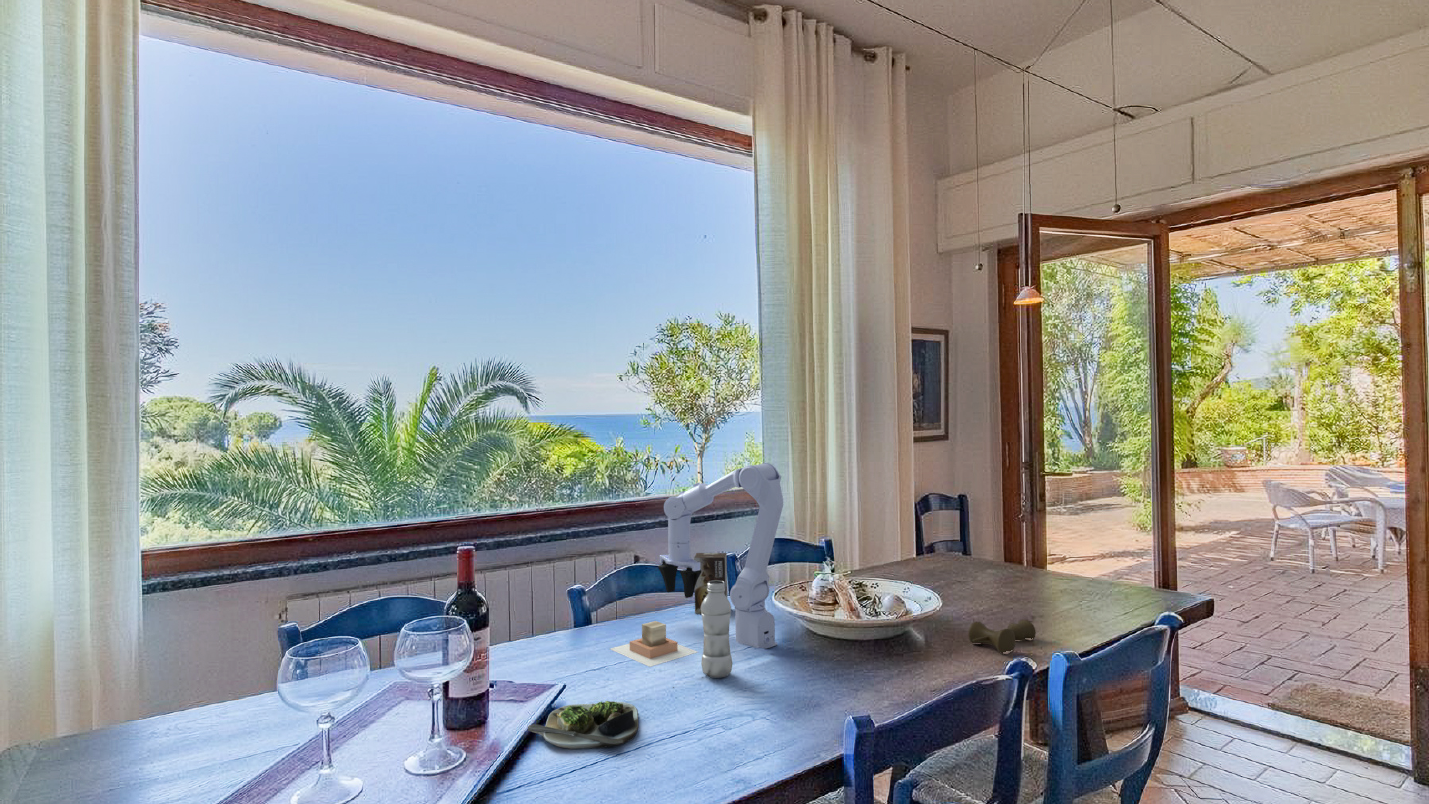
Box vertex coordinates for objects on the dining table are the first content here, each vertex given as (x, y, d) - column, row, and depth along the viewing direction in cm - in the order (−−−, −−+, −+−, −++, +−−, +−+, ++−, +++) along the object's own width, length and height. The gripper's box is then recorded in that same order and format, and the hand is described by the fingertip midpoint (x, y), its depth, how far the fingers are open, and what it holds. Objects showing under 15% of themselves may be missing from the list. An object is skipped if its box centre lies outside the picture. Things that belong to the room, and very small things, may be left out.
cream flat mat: (698, 656, 162) (698, 651, 162) (649, 671, 152) (649, 666, 152) (656, 639, 173) (656, 635, 174) (609, 652, 164) (609, 648, 164)
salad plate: (519, 760, 114) (519, 731, 114) (536, 713, 132) (535, 689, 132) (638, 753, 116) (638, 725, 116) (638, 708, 134) (638, 684, 134)
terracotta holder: (677, 650, 163) (677, 641, 163) (649, 658, 157) (649, 649, 157) (656, 642, 169) (656, 634, 169) (629, 650, 163) (629, 641, 163)
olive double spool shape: (1045, 647, 168) (990, 659, 158) (1011, 637, 176) (956, 648, 166) (1045, 622, 168) (990, 632, 158) (1010, 613, 177) (956, 623, 167)
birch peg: (666, 650, 163) (665, 624, 163) (652, 654, 160) (652, 628, 160) (655, 646, 166) (655, 620, 166) (642, 649, 163) (641, 624, 163)
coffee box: (728, 608, 202) (727, 552, 202) (726, 614, 195) (725, 556, 196) (696, 607, 203) (696, 552, 203) (694, 613, 196) (693, 556, 196)
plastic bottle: (729, 682, 145) (729, 586, 146) (698, 680, 147) (697, 585, 147) (735, 671, 152) (734, 579, 152) (704, 669, 153) (704, 578, 154)
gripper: (650, 540, 184) (650, 591, 184) (685, 547, 173) (685, 602, 173) (671, 536, 189) (671, 587, 189) (706, 544, 178) (706, 597, 178)
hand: (679, 594), depth 181 cm, fingers open, 7 cm apart
